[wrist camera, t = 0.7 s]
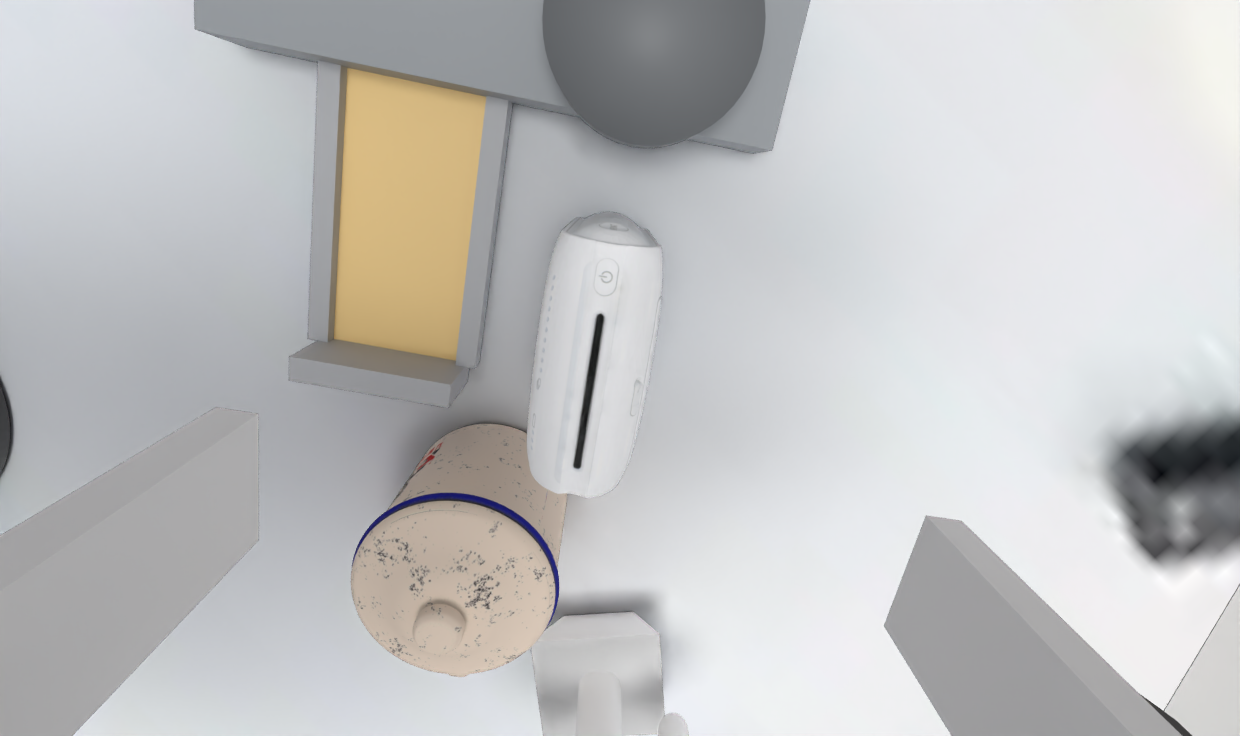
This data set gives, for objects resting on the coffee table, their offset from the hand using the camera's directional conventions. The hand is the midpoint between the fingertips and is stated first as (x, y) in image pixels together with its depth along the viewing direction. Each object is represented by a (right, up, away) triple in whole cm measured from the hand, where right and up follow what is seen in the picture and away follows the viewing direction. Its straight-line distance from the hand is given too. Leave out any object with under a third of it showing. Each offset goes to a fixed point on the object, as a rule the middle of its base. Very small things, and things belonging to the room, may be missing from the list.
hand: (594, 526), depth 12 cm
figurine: (-1, -14, +26) cm, 30 cm away
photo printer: (-1, +6, +20) cm, 21 cm away
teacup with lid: (-7, -5, +23) cm, 25 cm away
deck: (-5, +12, +17) cm, 22 cm away
